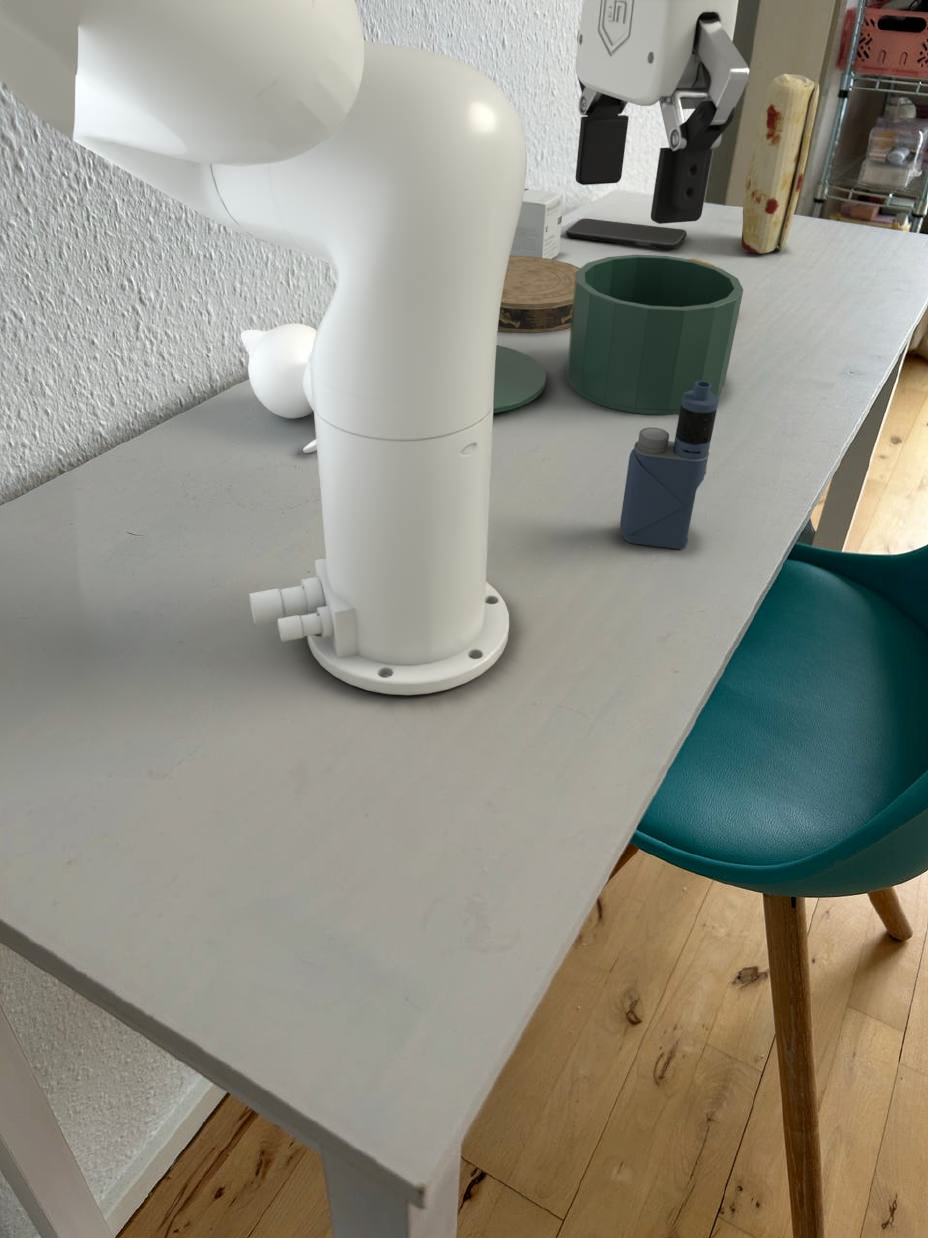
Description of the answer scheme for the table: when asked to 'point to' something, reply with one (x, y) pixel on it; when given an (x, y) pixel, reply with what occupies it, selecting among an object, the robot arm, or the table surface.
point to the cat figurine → (282, 370)
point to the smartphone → (627, 233)
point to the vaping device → (669, 474)
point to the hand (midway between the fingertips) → (634, 200)
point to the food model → (778, 162)
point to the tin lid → (516, 379)
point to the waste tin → (650, 331)
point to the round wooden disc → (537, 295)
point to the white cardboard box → (538, 225)
